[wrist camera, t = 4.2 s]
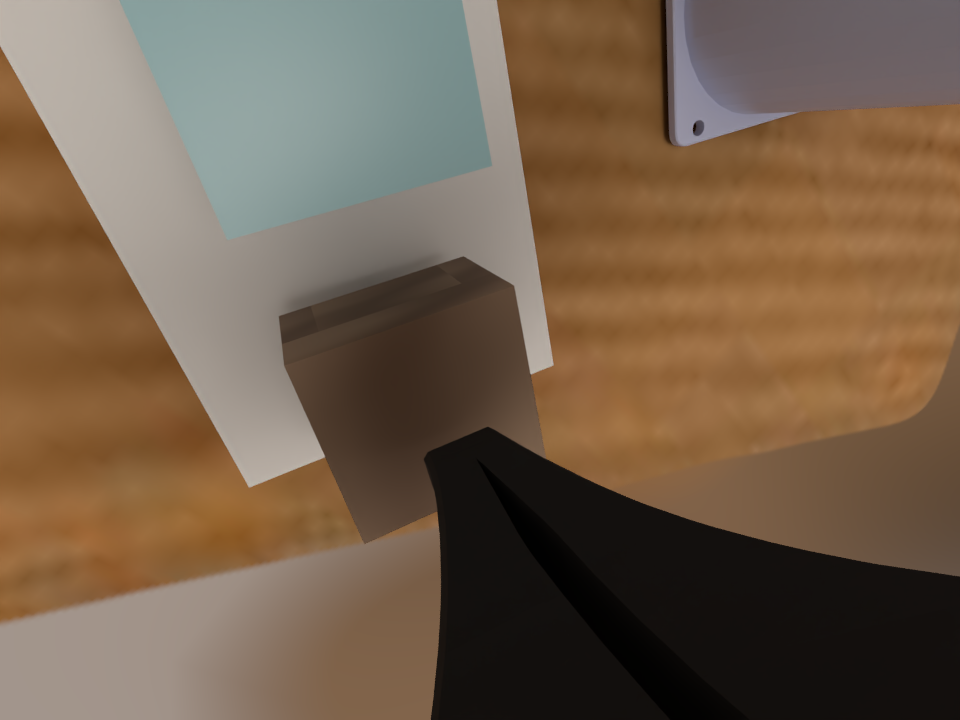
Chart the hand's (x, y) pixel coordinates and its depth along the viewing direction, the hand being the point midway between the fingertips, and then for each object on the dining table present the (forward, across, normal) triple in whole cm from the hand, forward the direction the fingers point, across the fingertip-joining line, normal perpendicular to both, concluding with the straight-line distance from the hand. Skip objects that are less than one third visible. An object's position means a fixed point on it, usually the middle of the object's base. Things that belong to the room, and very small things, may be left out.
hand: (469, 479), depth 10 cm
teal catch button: (+5, 0, -8) cm, 9 cm away
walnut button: (+6, 0, 0) cm, 6 cm away
